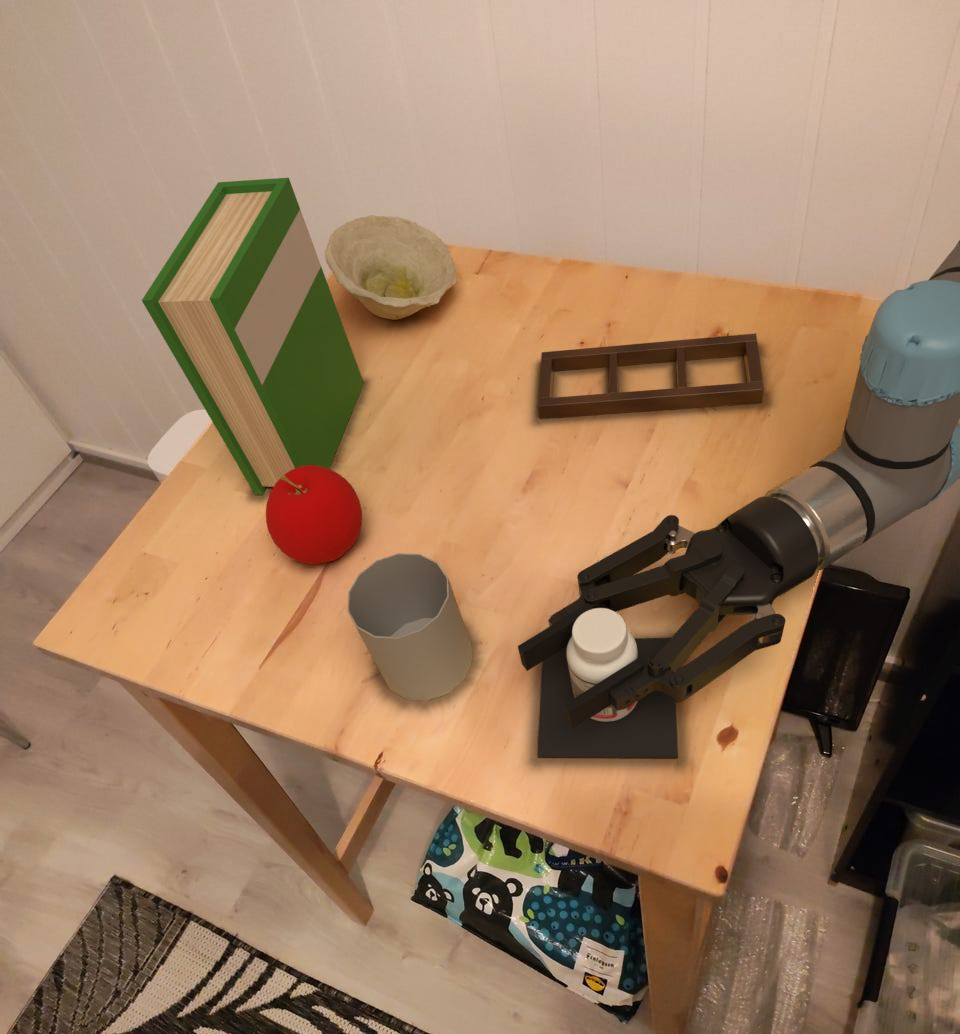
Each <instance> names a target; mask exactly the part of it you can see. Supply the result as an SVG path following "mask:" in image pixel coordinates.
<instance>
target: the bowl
mask: <svg viewBox="0 0 960 1034" xmlns="http://www.w3.org/2000/svg"><path fill="white" fill-rule="evenodd" d="M324 257H325V261H326V264H327V266H328V268H329V269H330V271H331V272H332V273H333V276H334V278H335V279H336V281H337V282H338V284H340V285H341V286H342V287H343V288H344V289H345V290H346V291H347V292H348V293H350V294H352V296H353V297H354V298H356V299H357V300H358V301H359V302H360V303H361V304H362V305H363V307H365V308H366V309H367V310H368V311H369V312H370V313H372V314H373V315H375V316H377V317H379V318H382V319H387V320H396V321H397V320H401V319H405V318H407V317H410V316H412V315H414V314H415V313H417V312H419V311H420V310H422V309H425V308H426V307H427V308H428V307H431V306H433V305H437V304H439V302H440V300H441V299H442V297H443V296H444V295H445V293H446V292H447V291H448V290H449V289H450V288H452V287H454V286H455V285H456V283H457V281H458V279H457V273H456V266H455V262H454V260H453V257H452V253H451V250H450V248H449V246H448V245H447V244H446V243H445V242H444V241H443V240H442V239H441V238H440V237H439V236H438V235H437V234H436V233H435V232H434V231H432V230H430V229H429V228H426V227H424V226H422V225H420V224H418V223H417V222H415V221H412V220H409V219H408V218H403V217H400V216H390V215H389V216H384V215H373V214H372V215H368V216H362V217H357V218H354V219H352V220H350V221H347V222H346V223H343V224H342V225H341V226H339V227H337V228H336V229H335V230H334V231H333V232H332V233H331V235H330V236H329V239H328V242H327V244H326V247H325V250H324Z"/></svg>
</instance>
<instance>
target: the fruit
mask: <svg viewBox="0 0 960 1034" xmlns="http://www.w3.org/2000/svg"><path fill="white" fill-rule="evenodd" d="M265 505H266V506H265V523H266V528H267V531H268V534H269V535H270V538H271V539H272V542H273V543H274V545H275V546H276V547H277V548H278V549H279V551H281V552H282V553H283V554H284V555H286V556H287V557H289V558H290V559H292V560H294V561H296V562H299V563H302V564H306V565H319V564H325V563H328V562H332V561H335V560H338V559H340V557H342V556H344V554H345V553H347V552H348V551H349V550H351V548H352V546H353V545H354V544H355V542H356V540H357V539H358V537H359V535H360V532H361V528H362V522H363V521H362V520H363V511H362V506H361V501H360V499H359V496H358V494H357V491H356V489H354V487H353V485H352V484H351V482H349V481H348V480H347V479H346V478H345V477H344V476H343V475H341V474H339V473H338V472H336V471H334V470H332V469H330V468H329V469H327V468H325V467H321V466H316V465H307V466H300V467H298V468H295V469H293V470H290V471H289V472H287V473H286V474H284V475H282V476H281V478H280V479H279V480H278V481H277V482H276V484H275V485H274V487H272V488H271V490H270V492H269V495H268V498H267V501H266V504H265Z"/></svg>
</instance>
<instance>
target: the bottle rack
mask: <svg viewBox="0 0 960 1034" xmlns="http://www.w3.org/2000/svg"><path fill="white" fill-rule="evenodd" d="M741 356H743V359H744V368H745V369H744V370H745V376H746V382H738V383H725V384H711V385H699V386H697V385H696V386H687V369H686V361H694V360H707V359H717V358H718V359H719V358H729V357H730V358H731V357H741ZM760 358H761V357H760V351H759V344H758V337H757V333H743V334H734V335H733V334H732V335H722V336H721V335H720V336H711V337H700V338H688V339H677V340H666V341H653V342H643V343H641V342H640V343H631V344H620V345H610V346H609V345H608V346H607V345H606V346H598V347H596V346H595V347H586V348H574V349H564V350H553V351H551V350H550V351H541V354H540V369H539V382H538V383H539V384H538V397H537V410H538V417H539V419H540V420H544V419H557V418H558V419H559V418H570V417H571V418H572V417H584V416H585V417H586V416H599V415H600V416H601V415H612V414H613V415H615V414H627V413H628V414H629V413H642V412H655V411H656V412H657V411H669V410H681V409H695V408H698V409H699V408H710V407H711V408H712V407H724V406H739V405H753V404H762V403H763V399H764V391H765V387H764V379H763V372H762V366H761V359H760ZM670 362H675V365H676V381H677V382H676V383H677V385H676V387H673V388H671V387H670V388H659V389H647V390H633V391H620V392H619V388H618V387H619V376H618V373H619V372H618V371H619V370H618V368H619V367H622V366H634V365H647V364H660V363H670ZM597 368H609V372H608V373H609V374H608V377H609V381H608V382H609V383H608V391H609V392H607V393H595V394H582V395H580V394H579V395H570V396H556V397H554V396H553V387H554V386H553V385H554V373H555V372H563V371H575V370H587V369H597Z"/></svg>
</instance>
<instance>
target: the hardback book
mask: <svg viewBox="0 0 960 1034" xmlns="http://www.w3.org/2000/svg"><path fill="white" fill-rule="evenodd" d="M334 300H335V299H334V297H333V295H332V292H331V289H330V286H329V283H328V281H327V278H326V275H325V273H324V270H323V267H322V265H321V261H320V259H319V256H318V254H317V251H316V248H315V246H314V244H313V240H312V237H311V234H310V232H309V229H308V226H307V224H306V221H305V218H304V215H303V213H302V210H301V208H300V205H299V202H298V199H297V197H296V193H295V191H294V188H293V186H292V183H291V180H290V177H278V178H277V177H276V178H263V179H262V178H261V179H247V180H233V181H218V182H217V183H216V185H215V187H214V188H213V189H212V191H211V193H210V194H209V195H208V197H207V198H206V200H205V202H204V203H203V205H202V206H201V208H200V210H199V211H198V213H197V214H196V216H195V217H194V218H193V221H191V223H190V225H189V226H188V228H187V229H186V231H185V232H184V234H183V236H182V237H181V239H180V240H179V242H178V243H177V245H176V247H175V248H174V250H173V251H172V252H171V254H170V256H169V258H167V260H166V262H165V263H164V265H163V266H162V268H161V270H160V271H159V273H158V274H157V276H156V277H155V278H154V280H153V282H152V284H151V285H150V287H149V288H148V290H147V291H146V293H145V295H144V296H143V297H142V298H141V302H142V304H143V306H144V308H145V309H146V310H147V312H148V314H149V316H150V317H151V319H152V321H153V323H154V324H155V326H156V328H157V330H158V331H159V333H160V335H161V336H162V338H163V340H164V342H165V343H166V345H167V347H168V348H169V350H170V351H171V353H172V355H173V357H174V358H175V361H176V362H177V364H178V365H179V367H180V369H181V370H182V372H183V374H184V375H185V377H186V379H187V381H188V383H189V384H190V386H191V388H192V390H193V391H194V393H195V394H196V396H197V398H198V399H199V402H200V403H201V405H202V406H203V408H204V410H205V412H206V414H207V415H208V417H209V419H210V420H211V423H213V425H214V427H215V429H216V431H217V432H218V434H219V436H220V437H221V439H222V441H223V443H224V444H225V446H226V447H227V449H228V451H229V453H230V454H231V456H232V458H233V460H234V462H235V463H236V465H237V466H238V469H239V470H240V471H241V473H242V475H243V477H244V478H245V480H246V482H247V484H248V485H249V488H250V489H251V490H252V492H253V494H254V495H255V496H263V495H264V493H265V491H266V489H267V487H271V488H273V487H274V485H275V484H276V482H277V481H278V480H279V479H280V478H281V476H282V475H284V474H286V473H287V472H289V471H290V470H293V469H295V468H298V467H300V466H307V465H316V466H321V467H325V468H327V469H330V468H331V466H332V463H333V460H334V458H335V455H336V454H337V451H338V448H339V446H340V444H341V441H342V438H343V436H344V434H345V432H346V429H347V426H348V424H349V421H350V418H351V416H352V414H353V412H354V409H355V406H356V404H357V402H358V400H359V396H360V394H361V392H362V390H363V387H364V384H365V381H364V379H363V377H362V374H361V371H360V369H359V365H358V363H357V361H356V358H355V355H354V352H353V349H352V346H351V343H350V341H349V338H348V335H347V332H346V330H345V327H344V325H343V322H342V319H341V315H340V314H339V311H338V308H337V306H336V303H335V301H334Z"/></svg>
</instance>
